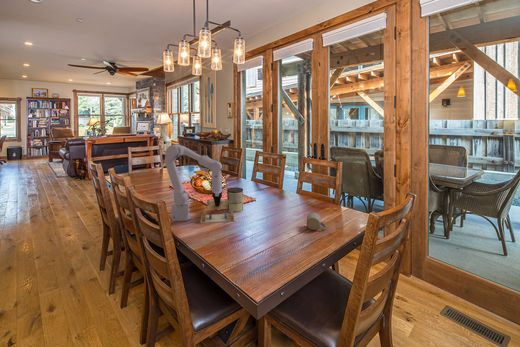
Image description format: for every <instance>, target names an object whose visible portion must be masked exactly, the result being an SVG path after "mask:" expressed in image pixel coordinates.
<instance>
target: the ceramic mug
mask: <svg viewBox="0 0 520 347" xmlns="http://www.w3.org/2000/svg"><path fill="white" fill-rule="evenodd" d="M306 226H307V228H308V229H309V230H311V231H317V230H319V229H320V230H323V231H325V230H326V229H327V225H326V224H325V223H324V222H322V218H321V215H320V214H318V213H317V212H310V213H309V214H307V216H306Z"/></svg>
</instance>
